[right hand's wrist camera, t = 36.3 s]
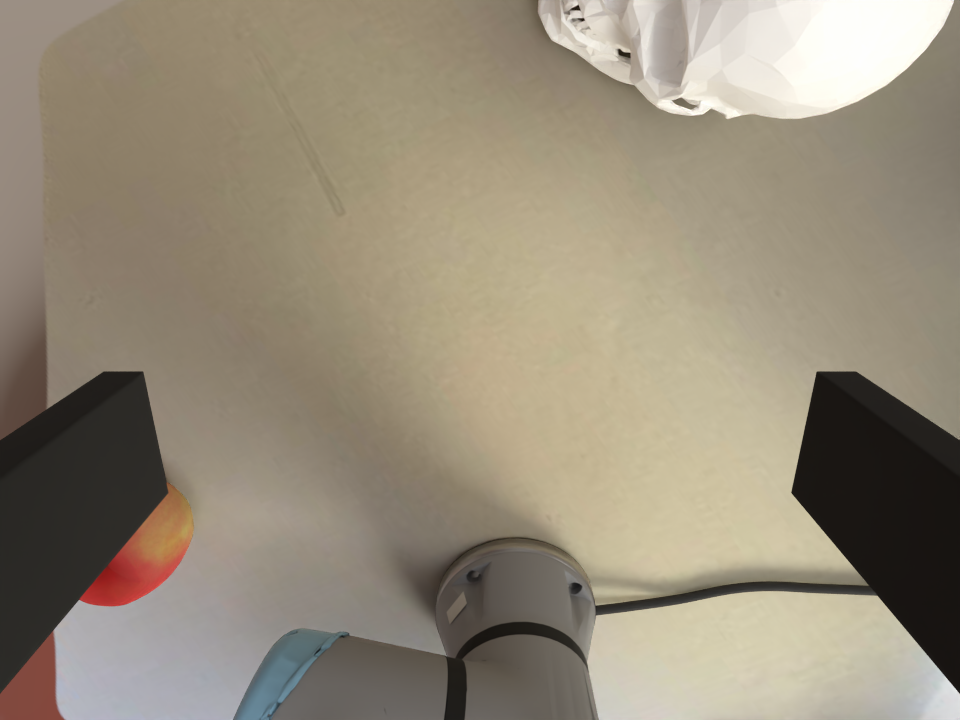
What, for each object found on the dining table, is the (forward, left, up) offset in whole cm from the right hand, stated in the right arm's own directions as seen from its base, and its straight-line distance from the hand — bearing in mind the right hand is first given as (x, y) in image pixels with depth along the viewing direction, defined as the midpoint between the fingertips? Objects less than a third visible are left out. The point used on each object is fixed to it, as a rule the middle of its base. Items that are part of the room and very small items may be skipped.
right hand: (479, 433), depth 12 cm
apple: (+25, +30, -37) cm, 54 cm away
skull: (-13, -15, -37) cm, 42 cm away
